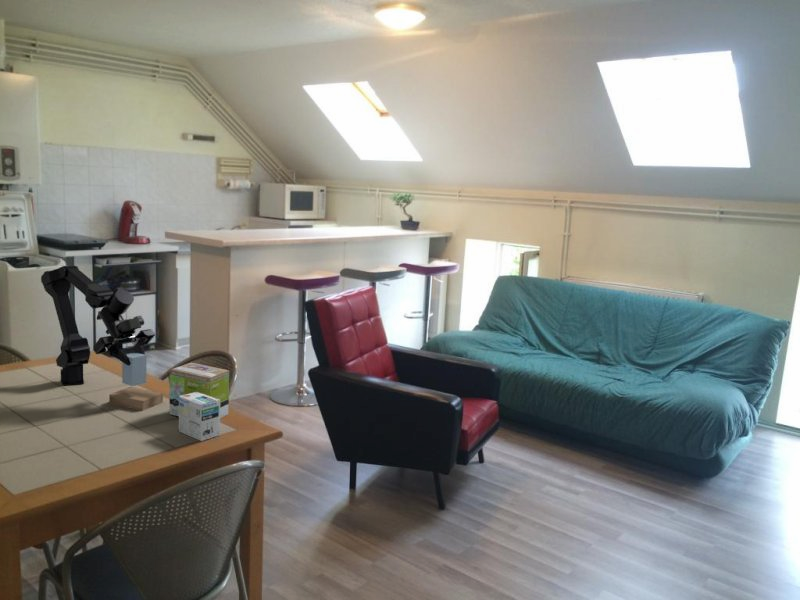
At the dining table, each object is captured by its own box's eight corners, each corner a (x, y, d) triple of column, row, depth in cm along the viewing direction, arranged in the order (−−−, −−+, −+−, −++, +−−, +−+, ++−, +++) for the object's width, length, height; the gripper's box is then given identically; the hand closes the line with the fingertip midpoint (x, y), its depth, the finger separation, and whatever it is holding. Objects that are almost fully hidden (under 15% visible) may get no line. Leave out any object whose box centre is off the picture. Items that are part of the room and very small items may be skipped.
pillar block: (136, 379, 211) (136, 352, 209) (146, 382, 208) (146, 355, 207) (122, 382, 206) (122, 355, 205) (132, 386, 204) (132, 358, 202)
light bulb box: (220, 435, 187) (221, 399, 185) (201, 442, 182) (201, 404, 180) (197, 425, 193) (197, 390, 191) (177, 431, 188) (177, 395, 186)
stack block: (130, 397, 215) (129, 386, 215) (162, 403, 211) (162, 393, 211) (109, 405, 207) (109, 394, 206) (143, 412, 203) (143, 401, 202)
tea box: (168, 415, 200) (168, 368, 198) (190, 406, 209) (190, 361, 207) (208, 425, 195) (209, 376, 192) (229, 415, 204) (230, 368, 201)
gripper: (98, 311, 198) (121, 354, 194) (151, 304, 213) (174, 343, 209) (83, 332, 203) (105, 374, 199) (135, 324, 219) (157, 363, 215)
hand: (137, 363), depth 205 cm, fingers closed on pillar block, 5 cm apart
